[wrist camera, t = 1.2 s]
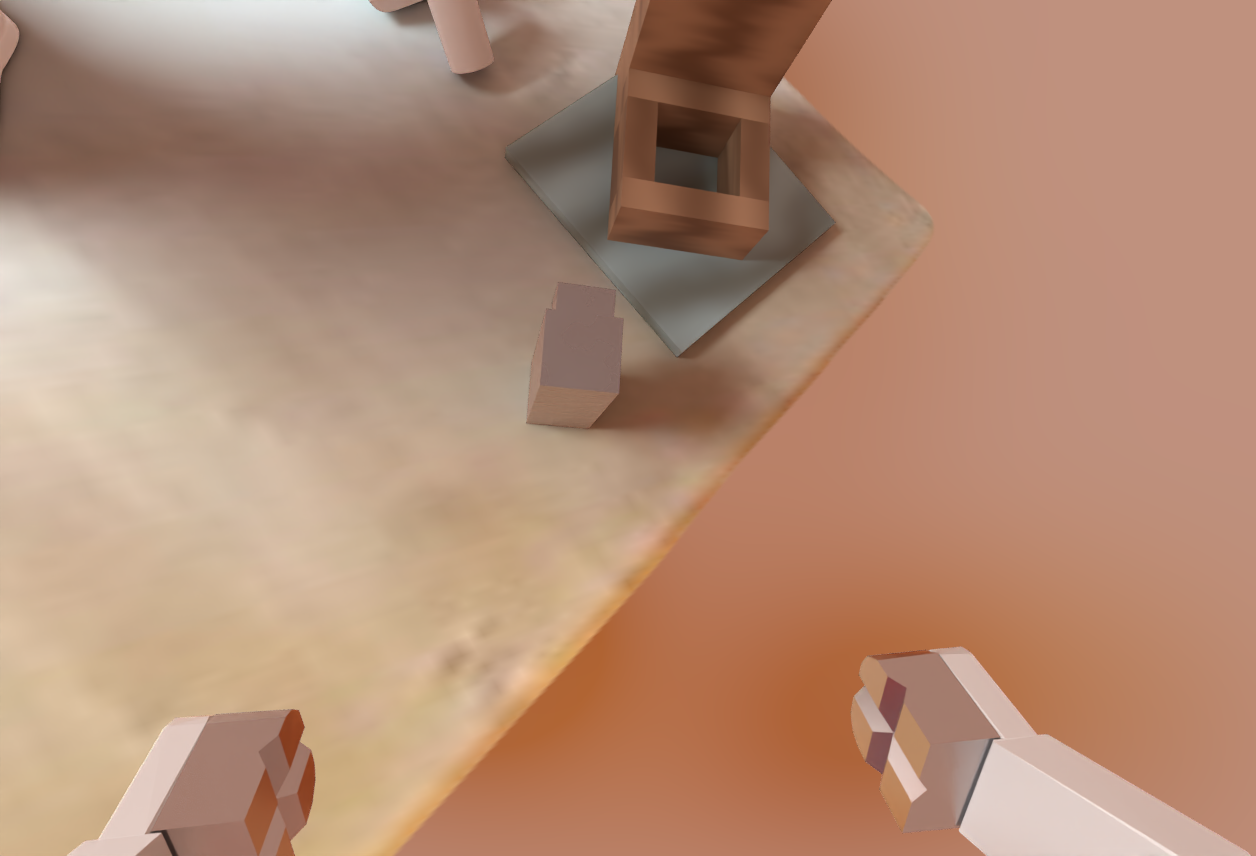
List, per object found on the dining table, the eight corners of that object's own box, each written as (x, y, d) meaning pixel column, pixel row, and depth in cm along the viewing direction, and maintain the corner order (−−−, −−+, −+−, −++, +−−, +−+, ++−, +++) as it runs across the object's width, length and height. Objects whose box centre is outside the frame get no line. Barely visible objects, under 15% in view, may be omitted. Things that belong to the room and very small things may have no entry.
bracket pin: (526, 423, 42) (539, 385, 33) (533, 341, 43) (548, 280, 34) (588, 428, 43) (619, 393, 34) (593, 348, 44) (624, 291, 35)
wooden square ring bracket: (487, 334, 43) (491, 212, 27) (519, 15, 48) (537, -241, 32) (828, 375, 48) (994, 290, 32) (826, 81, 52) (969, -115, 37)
